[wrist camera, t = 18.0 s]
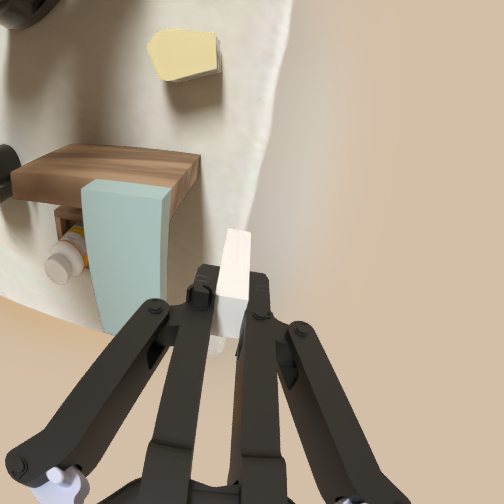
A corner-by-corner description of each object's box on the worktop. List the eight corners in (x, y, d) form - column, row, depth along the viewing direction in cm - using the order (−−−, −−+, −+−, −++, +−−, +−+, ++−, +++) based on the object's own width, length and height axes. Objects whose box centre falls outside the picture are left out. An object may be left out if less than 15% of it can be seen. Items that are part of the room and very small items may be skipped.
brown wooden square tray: (63, 198, 34) (51, 207, 31) (117, 205, 34) (107, 216, 32) (70, 253, 39) (61, 264, 36) (120, 264, 40) (112, 277, 37)
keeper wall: (71, 143, 29) (10, 172, 19) (200, 154, 31) (171, 188, 20) (71, 164, 31) (13, 198, 20) (197, 178, 33) (169, 222, 22)
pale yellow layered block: (234, 22, 23) (230, 8, 18) (237, 90, 27) (234, 88, 23) (150, 34, 23) (132, 25, 18) (154, 100, 28) (136, 101, 23)
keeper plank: (95, 178, 20) (80, 188, 18) (171, 188, 20) (162, 199, 18) (111, 317, 28) (104, 332, 26) (167, 330, 29) (162, 347, 27)
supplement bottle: (89, 255, 38) (59, 294, 30) (69, 229, 35) (34, 265, 27) (109, 240, 36) (78, 281, 28) (88, 212, 34) (51, 247, 26)
